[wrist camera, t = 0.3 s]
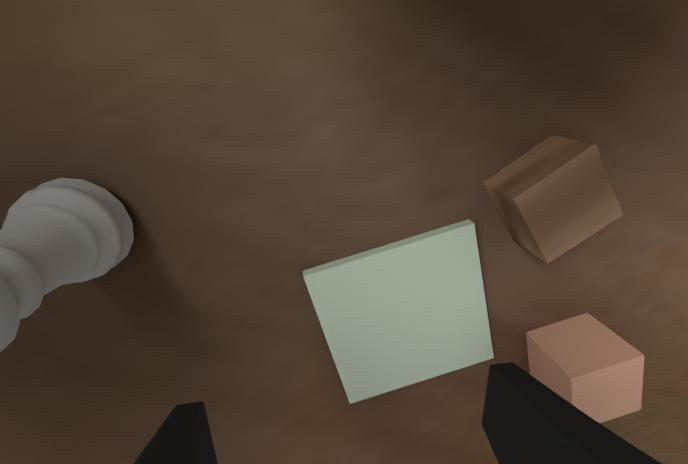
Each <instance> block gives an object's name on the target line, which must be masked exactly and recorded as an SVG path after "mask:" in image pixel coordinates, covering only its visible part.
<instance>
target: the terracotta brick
mask: <svg viewBox="0 0 688 464" xmlns="http://www.w3.org/2000/svg"><path fill="white" fill-rule="evenodd" d="M526 337H527V348H528V358H529V369H530V375H531V376H533V377H534V378H536V379H537V380H538V381H540V382H541V383H543V384H544V385H545V386H547V387H548V388H550V389H551V390H552V391H554V392H555V393H557V394H558V395H559V396H561V397H562V398H564V399H565V400H567V401H568V402H569V403H571V404H572V405H574V406H575V407H577V408H578V409H579V410H581V411H582V412H584V413H585V414H587V415H588V416H589V417H591V418H592V419H594V420H595V421H597V422H598V423H602V422H605V421H608V420H611V419H614V418H617V417H620V416H623V415H627V414H630V413H633V412H636V411H639V410H641V402H642V386H643V371H644V356H645V355H643V354H642V353H641V352H639V351H638V350H637V349H635V348H634V347H633V346H631V345H630V344H629V343H627V342H626V341H625V340H623V339H622V338H621V337H619V336H618V335H617V334H615V333H614V332H613V331H611V330H610V329H609V328H607V327H606V326H605V325H604V324H602V323H601V322H600V321H598V320H597V319H596V318H594V317H593V316H592V315H590V314H589V313H585V314H581V315H578V316H575V317H572V318H569V319H566V320H563V321H560V322H556V323H553V324H550V325H547V326H544V327H541V328H538V329H534V330H531V331H528V332H526Z"/></svg>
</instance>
